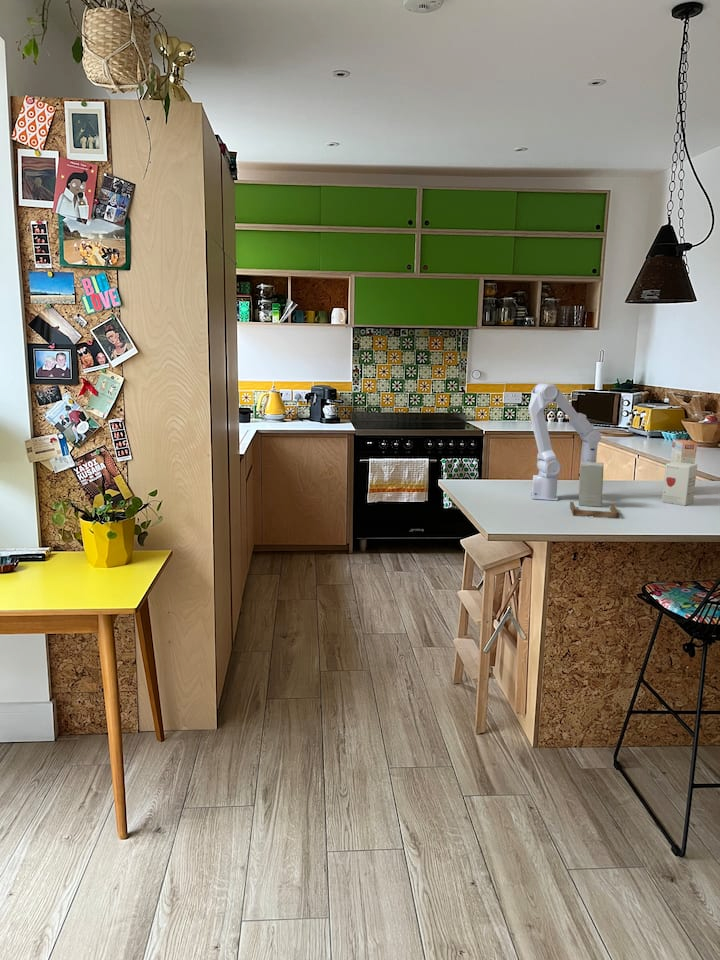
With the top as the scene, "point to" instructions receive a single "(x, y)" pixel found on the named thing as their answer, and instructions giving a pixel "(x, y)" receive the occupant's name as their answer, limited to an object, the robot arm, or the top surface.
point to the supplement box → (679, 483)
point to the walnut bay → (595, 512)
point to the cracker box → (683, 451)
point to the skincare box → (590, 484)
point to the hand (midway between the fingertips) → (585, 494)
